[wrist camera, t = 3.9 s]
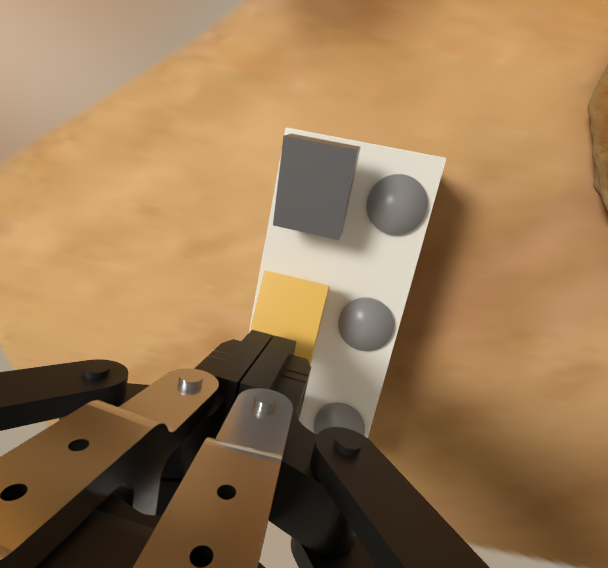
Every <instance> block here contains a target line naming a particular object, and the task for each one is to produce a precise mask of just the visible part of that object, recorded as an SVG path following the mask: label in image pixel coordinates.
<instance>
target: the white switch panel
mask: <svg viewBox="0 0 608 568" xmlns="http://www.w3.org/2000/svg"><path fill="white" fill-rule="evenodd" d="M291 133H292V134H297V135H302V136H307V137H312V138H318V139H323V140H328V141H333V142H338V143H344V144H349V145H354V146H359V147H361V148H360V152H359V157H358V162H357V166H356V171H355V176H354V180H353V185H352V190H351V194H350V199H349V204H348V208H347V213H346V218H345V222H344V227H343V232H342V234H341V237H340V239H339V240H336V239H331V238H327V237H322V236H318V235H313V234H309V233H304V232H300V231H295V230H291V229H287V228H282V227H278V226H273V219H274V211H275V202H276V194H277V186H278V178H279V170H280V163H279V168H278V174H277V179H276V185H275V190H274V196H273V201H272V207H271V212H270V218H269V223H268V229H267V235H266V240H265V246H264V251H263V257H262V262H261V268H260V273H259V279H258V284H257V290H256V295H255V301H254V306H253V312H252V318H251V323H252V319H253V315H254V311H255V307H256V303H257V299H258V295H259V291H260V286H261V282H262V278H263V274H264V270H266V271H270V272H274V273H278V274H283V275H287V276H291V277H295V278H299V279H303V280H308V281H312V282H316V283H320V284H324V285H328V286H330V289H329V293H328V297H327V301H326V305H325V309H324V313H323V317H322V322H321V326H320V330H319V334H318V338H317V342H316V346H315V351H314V355H313V359H312V363H311V365H310V366H311V371H310V375H309V379H308V384H307V388H306V392H305V398H304V402H303V406H302V411H301V415H300V419H299V421H300V422H301V423H302V424H303V425H304V426H305V427H306V428H307V429H308V430H310V431H312V432H313V433H315V434H318V433H319V432H320V431H321V430H323V429H325V428H329V427H343V428H347V429H351V430H354V431H356V432H358V433H360V434H362V435H363V436H365V437H366V438H368V436H369V432H370V429H371V425H372V421H373V418H374V414H375V411H376V407H377V404H378V400H379V396H380V393H381V389H382V386H383V382H384V379H385V375H386V372H387V368H388V364H389V361H390V357H391V354H392V350H393V347H394V343H395V340H396V336H397V332H398V329H399V325H400V322H401V318H402V315H403V311H404V308H405V304H406V300H407V297H408V293H409V290H410V286H411V283H412V279H413V275H414V272H415V268H416V265H417V261H418V258H419V254H420V251H421V247H422V243H423V240H424V236H425V233H426V229H427V226H428V222H429V219H430V215H431V211H432V208H433V204H434V201H435V197H436V194H437V190H438V186H439V183H440V179H441V176H442V172H443V169H444V165H445V162H446V158H444V157H438V156H433V155H428V154H423V153H417V152H412V151H407V150H402V149H396V148H391V147H386V146H381V145H375V144H370V143H365V142H360V141H355V140H349V139H344V138H339V137H334V136H328V135H323V134H318V133H313V132H307V131H302V130H297V129H292V128H286V129H285V135H288V134H291ZM281 153H282V152H281ZM280 161H281V157H280ZM251 323H250V328H251ZM249 332H250V329H249Z"/></svg>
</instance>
